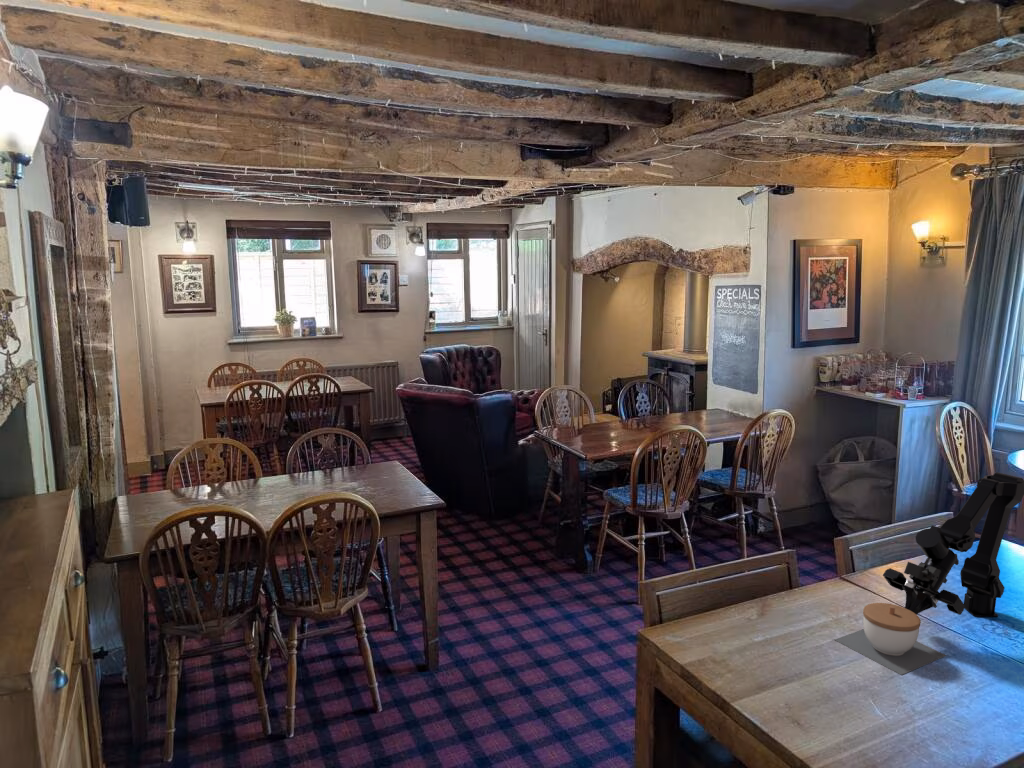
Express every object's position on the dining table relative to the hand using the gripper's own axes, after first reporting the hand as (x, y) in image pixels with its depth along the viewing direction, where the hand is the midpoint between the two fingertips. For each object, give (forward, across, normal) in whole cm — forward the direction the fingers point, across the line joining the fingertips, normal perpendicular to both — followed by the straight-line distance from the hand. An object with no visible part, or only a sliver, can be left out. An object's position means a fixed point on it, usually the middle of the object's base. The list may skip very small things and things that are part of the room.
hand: (905, 617), depth 180 cm
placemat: (+9, 0, +1) cm, 9 cm away
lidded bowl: (+9, 0, 0) cm, 9 cm away
